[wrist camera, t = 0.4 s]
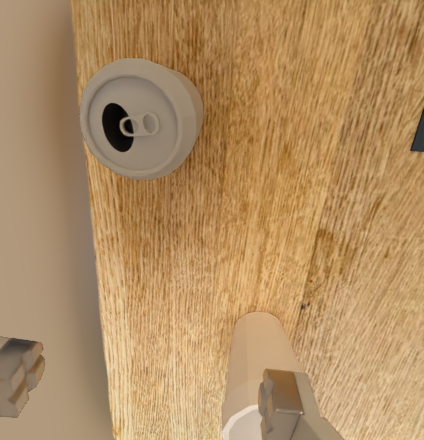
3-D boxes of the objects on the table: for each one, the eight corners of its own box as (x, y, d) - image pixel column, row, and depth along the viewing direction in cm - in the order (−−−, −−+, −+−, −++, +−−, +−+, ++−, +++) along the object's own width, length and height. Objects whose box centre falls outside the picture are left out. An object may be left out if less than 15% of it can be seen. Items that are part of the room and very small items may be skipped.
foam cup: (252, 367, 42) (265, 479, 30) (206, 329, 39) (200, 434, 27) (309, 332, 39) (348, 439, 27) (263, 288, 36) (284, 385, 25)
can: (116, 75, 28) (47, 67, 17) (197, 61, 27) (181, 42, 16) (137, 157, 30) (89, 195, 19) (210, 145, 30) (204, 179, 19)
